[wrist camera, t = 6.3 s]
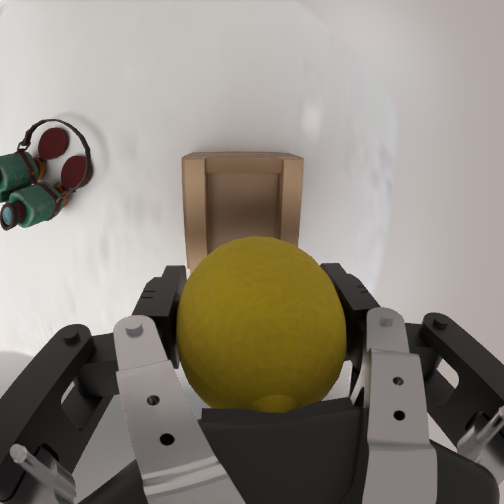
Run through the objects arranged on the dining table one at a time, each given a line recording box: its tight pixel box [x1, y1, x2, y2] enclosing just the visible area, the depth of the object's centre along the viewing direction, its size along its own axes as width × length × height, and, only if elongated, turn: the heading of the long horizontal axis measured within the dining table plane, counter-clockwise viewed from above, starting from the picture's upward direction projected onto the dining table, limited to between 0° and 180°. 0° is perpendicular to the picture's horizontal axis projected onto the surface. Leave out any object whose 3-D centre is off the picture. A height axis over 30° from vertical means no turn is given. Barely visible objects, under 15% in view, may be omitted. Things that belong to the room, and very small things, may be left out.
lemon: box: [176, 236, 347, 414], centre depth 9 cm, size 6×6×8 cm
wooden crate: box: [182, 152, 303, 274], centre depth 23 cm, size 9×9×8 cm
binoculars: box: [0, 119, 92, 231], centre depth 19 cm, size 9×11×10 cm
